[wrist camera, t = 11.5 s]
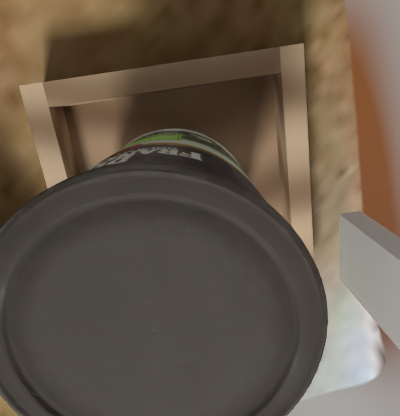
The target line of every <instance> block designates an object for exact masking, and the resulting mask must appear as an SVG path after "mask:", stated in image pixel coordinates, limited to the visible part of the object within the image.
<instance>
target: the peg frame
mask: <svg viewBox="0 0 400 416" xmlns="http://www.w3.org/2000/svg"><path fill="white" fill-rule="evenodd" d="M19 88H20V92H21V95H22V99H23V102H24V106H25V109H26V113H27V117H28V120H29V124H30V127H31V131H32V135H33V138H34V142H35V145H36V149H37V153H38V156H39V160H40V163H41V167H42V170H43V174H44V178H45V181H46V185H47V188H50V187H52V186H53V185H55V184H57V183H59V182H61V181H63V180H65V179H67V178H70V177H72V176H74V175H77V174H79V173H82V172H85V171H86V170H88V169H90V168H91V167H93V166H95V165H96V164H98V163H100V162H101V161H103V160H104V159H106V158H107V157H109V156H111V155H113V154H114V153H116V152H117V151H119V150H121V149H122V148H123V147H124V146H126V145H127V144H128V143H129V142H131V141H132V140H134V139H135V138H137V137H139V136H141V135H143V134H146V133H149V132H153V131H157V130H162V129H186V130H191V131H196V132H199V133H202V134H204V135H206V136H208V137H210V138H212V139H214V140H215V141H217V142H218V143H220V144H221V145H222V146H224V147H225V148H226V149H227V150H228V151H229V152H230V153H231V154H232V155H233V157H234V158H235V159H236V160H237V162H238V163H239V165H240V167H241V168H242V170H243V172H244V173H245V174H246V176H247V177H248V178H249V180H250V181H251V182H252V184H253V185H254V186H255V188H256V189H257V190H258V191H259V193H260V194H261V195H262V196H263V198H264V199H265V200H266V202H267V203H268V204H270V205H271V206H272V207H273V208H274V209H275V210H276V211H277V212H278V213H279V214H280V215H281V216H282V217H283V218H284V219H285V220H286V221H287V222H288V223H289V224H290V225H291V226H292V227H293V229H294V230H295V231H296V233H297V234H298V235H299V237H300V238H301V239H302V241H303V243H304V244H305V246H306V247H307V249H308V251H309V253H310V254H311V256H312V258H313V260H314V250H313V229H312V207H311V186H310V165H309V144H308V123H307V102H306V81H305V60H304V43H301V44H295V45H288V46H281V47H275V48H268V49H261V50H255V51H248V52H241V53H235V54H228V55H221V56H215V57H208V58H201V59H195V60H188V61H181V62H175V63H168V64H161V65H155V66H148V67H141V68H134V69H128V70H121V71H114V72H108V73H101V74H94V75H88V76H81V77H74V78H68V79H61V80H54V81H48V82H41V83H34V84H28V85H21V86H19Z"/></svg>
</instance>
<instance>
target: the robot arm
mask: <svg viewBox="0 0 400 416" xmlns="http://www.w3.org/2000/svg"><path fill="white" fill-rule="evenodd" d="M339 228H340V279H341V280H342V282H343V283H344V284H345V285H346V286H347V288H348V289H349V290H350V291H351V292H352V294H353V295H354V296H355V297H356V298H357V300H358V301H359V302H360V303H361V304H362V306H363V307H364V308H365V309H366V310H367V312H368V313H369V314H370V315H371V316H372V317H373V319H374V320H375V321H376V322H377V323H378V325H379V326H380V327H381V328H382V329H383V331H384V332H385V333H386V334H387V335H388V337H389V338H390V339H391V340H392V341H393V342H394V344H395V345H396V346H397V347H398V348H399V350H400V238H399V237H398V236H397V235H395V234H394V233H392V232H391V231H389V230H387V229H386V228H384V227H383V226H381V225H380V224H378V223H377V222H375V221H374V220H372V219H371V218H369V217H368V216H366V215H365V214H363V213H362V212H360V211H358V212H351V213H343V214H339Z"/></svg>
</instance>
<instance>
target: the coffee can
mask: <svg viewBox="0 0 400 416" xmlns="http://www.w3.org/2000/svg"><path fill="white" fill-rule="evenodd" d="M327 324H328V313H327V301H326V295H325V291H324V287H323V283H322V279H321V277H320V274H319V271H318V269H317V267H316V265H315V262H314V260H313V258H312V256H311V254H310V253H309V251H308V249H307V247H306V246H305V244H304V243H303V241H302V239H301V238H300V237H299V235H298V234H297V233H296V231H295V230H294V229H293V227H292V226H291V225H290V224H289V223H288V222H287V221H286V220H285V219H284V218H283V217H282V216H281V215H280V214H279V213H278V212H277V211H276V210H275V209H274V208H273V207H272V206H271V205H270V204H268V203H267V202H266V200H265V199H264V198H263V196H262V195H261V194H260V193H259V191H258V190H257V189H256V188H255V186H254V185H253V184H252V182H251V181H250V180H249V178H248V177H247V176H246V174H245V173H244V172H243V170H242V168H241V167H240V165H239V163H238V162H237V160H236V159H235V158H234V157H233V155H232V154H231V153H230V152H229V151H228V150H227V149H226V148H225V147H224V146H222V145H221V144H220V143H218V142H217V141H215V140H214V139H212V138H210V137H208V136H206V135H204V134H202V133H199V132H196V131H191V130H186V129H162V130H157V131H153V132H149V133H146V134H143V135H141V136H139V137H137V138H135V139H134V140H132V141H131V142H129V143H128V144H127V145H126V146H124V147H123V148H122V149H121V150H119V151H117V152H116V153H114V154H113V155H111V156H109V157H107V158H106V159H104V160H103V161H101V162H100V163H98V164H96V165H95V166H93V167H91V168H90V169H88V170H86V171H85V172H82V173H79V174H77V175H74V176H72V177H70V178H67V179H65V180H63V181H61V182H59V183H57V184H55V185H53V186H52V187H50V188H48V189H47V190H45V191H43V192H42V193H40V194H38V195H37V196H35V197H33V198H32V199H30V200H29V201H28V202H27V203H26V204H24V205H23V206H22V207H21V208H20V209H19V210H18V211H17V212H16V213H15V214H14V215H13V216H12V217H11V218H10V219H9V220H8V221H7V222H6V223H5V224H4V225H3V227H2V228H1V229H0V395H1V396H2V398H3V399H4V400H5V401H6V402H7V403H8V404H9V406H10V407H11V408H12V409H13V410H14V411H15V412H16V413H17V414H18V415H19V416H287V415H288V414H289V413H290V412H291V410H292V409H293V408H294V407H295V405H296V404H297V403H298V402H299V401H300V399H301V398H302V396H303V395H304V394H305V392H306V390H307V389H308V387H309V386H310V384H311V382H312V380H313V378H314V376H315V374H316V372H317V369H318V366H319V363H320V361H321V358H322V354H323V350H324V347H325V342H326V337H327Z"/></svg>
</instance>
